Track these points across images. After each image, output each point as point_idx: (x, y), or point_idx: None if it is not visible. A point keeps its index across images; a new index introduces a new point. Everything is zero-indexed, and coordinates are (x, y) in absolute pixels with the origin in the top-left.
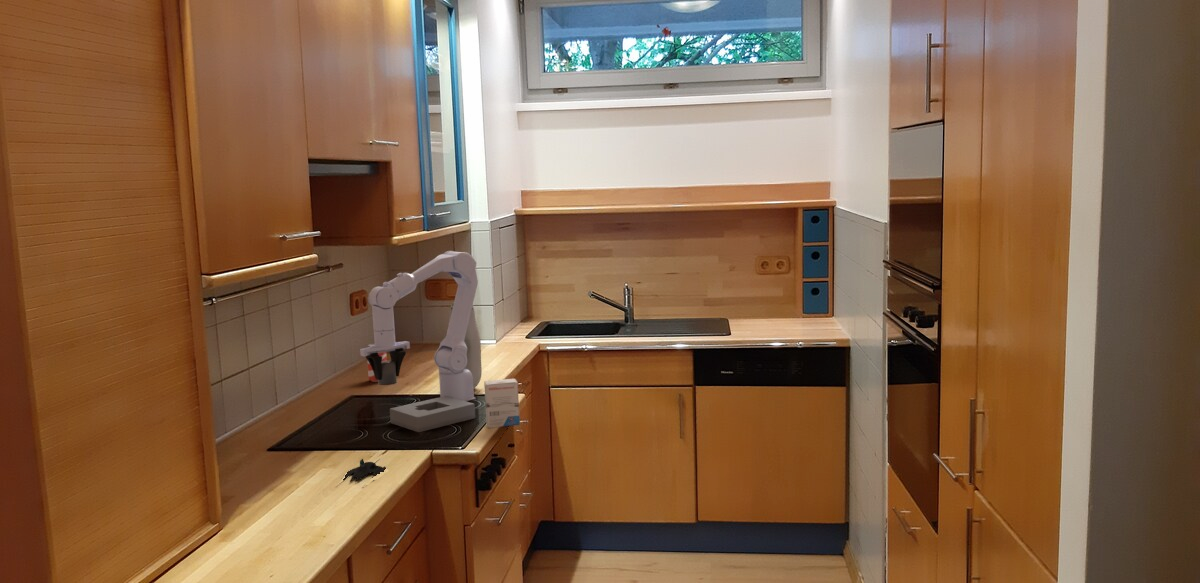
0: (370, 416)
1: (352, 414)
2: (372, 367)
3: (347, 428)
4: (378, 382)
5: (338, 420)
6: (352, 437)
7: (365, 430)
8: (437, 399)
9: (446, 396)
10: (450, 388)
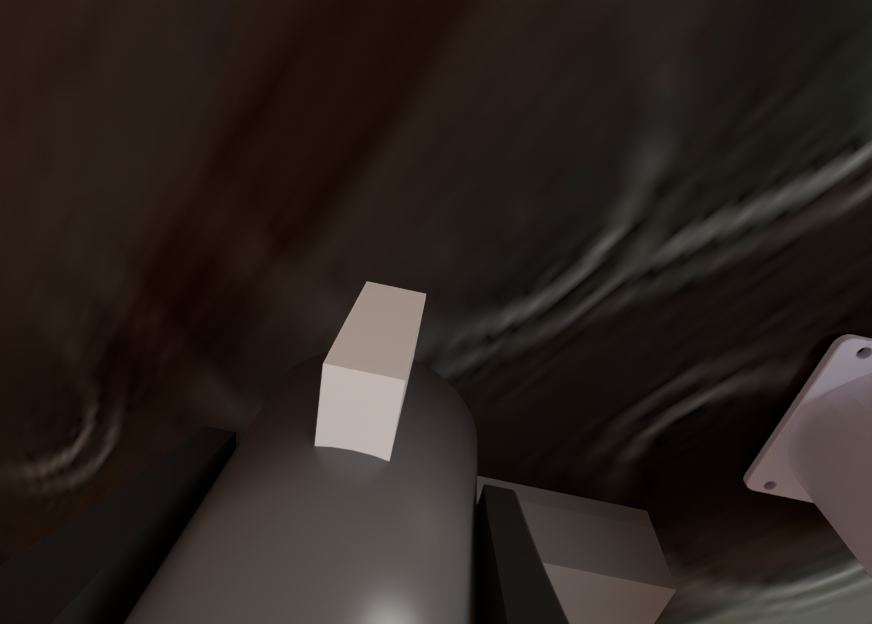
0: (291, 220)
1: (232, 25)
2: (31, 570)
3: (48, 309)
4: (266, 401)
5: (68, 83)
6: (13, 447)
7: (113, 419)
8: (570, 597)
9: (663, 600)
10: (857, 558)
